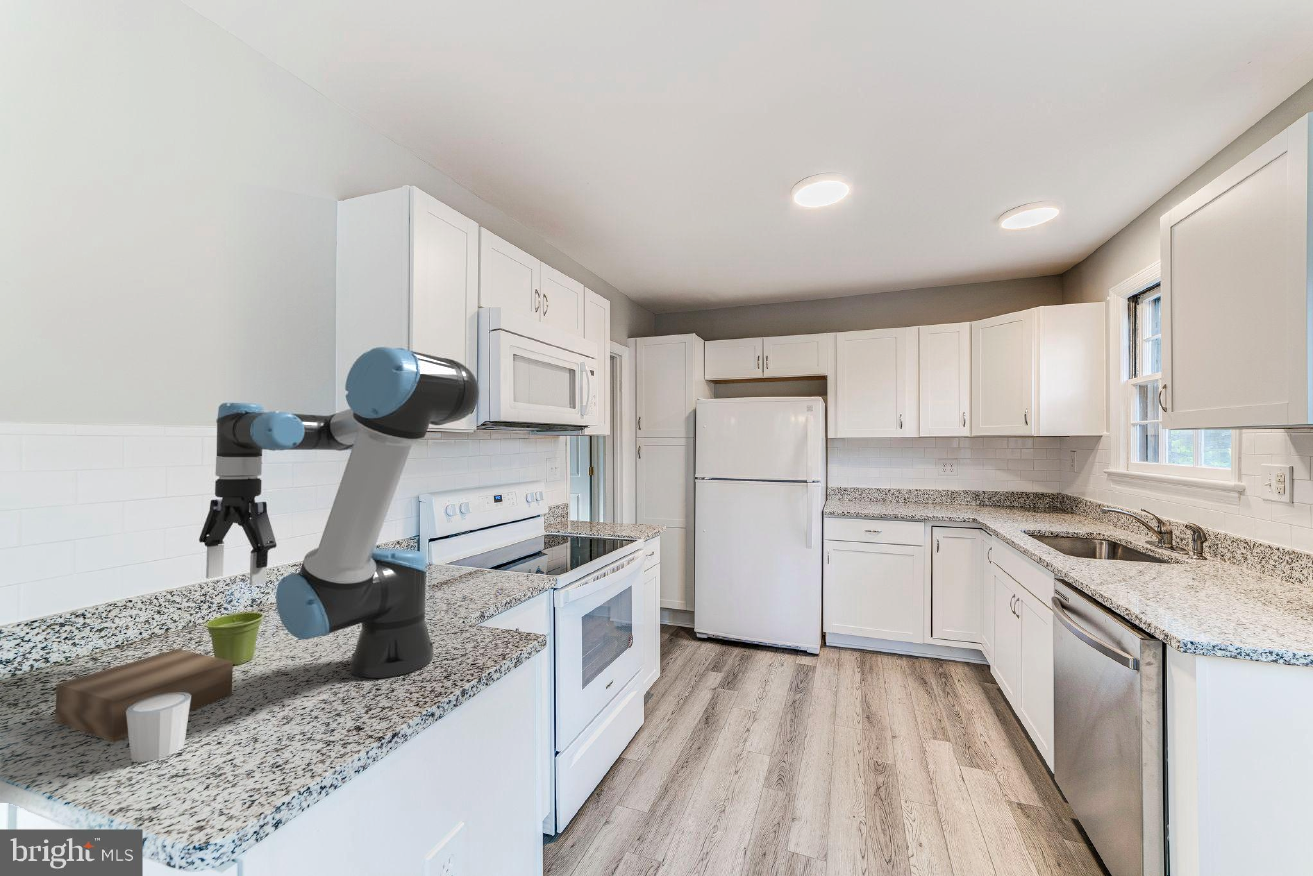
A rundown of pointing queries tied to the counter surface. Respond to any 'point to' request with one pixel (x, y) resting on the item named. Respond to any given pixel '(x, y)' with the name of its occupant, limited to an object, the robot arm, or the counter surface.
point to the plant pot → (235, 636)
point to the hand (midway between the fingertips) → (235, 580)
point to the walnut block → (139, 690)
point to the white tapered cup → (158, 726)
